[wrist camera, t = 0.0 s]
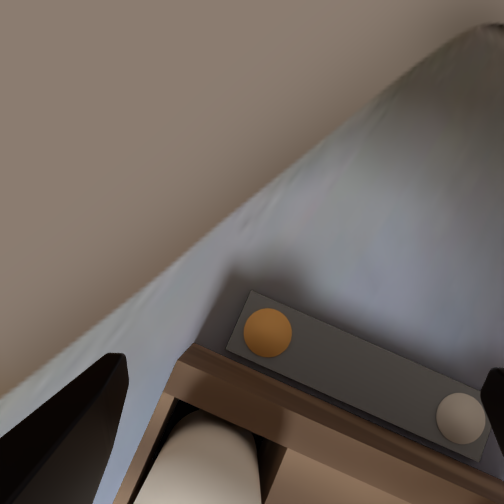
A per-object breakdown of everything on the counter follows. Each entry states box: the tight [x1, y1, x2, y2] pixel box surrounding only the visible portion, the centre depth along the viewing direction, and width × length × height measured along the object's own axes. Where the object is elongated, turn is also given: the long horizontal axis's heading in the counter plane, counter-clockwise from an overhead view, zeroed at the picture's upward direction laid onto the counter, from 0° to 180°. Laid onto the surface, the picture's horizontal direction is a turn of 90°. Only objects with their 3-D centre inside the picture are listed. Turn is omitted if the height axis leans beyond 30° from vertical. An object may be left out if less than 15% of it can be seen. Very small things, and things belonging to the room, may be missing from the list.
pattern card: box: [226, 290, 491, 462], centre depth 24 cm, size 4×17×1 cm, turn 66°
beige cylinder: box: [134, 409, 261, 504], centre depth 17 cm, size 5×5×6 cm
